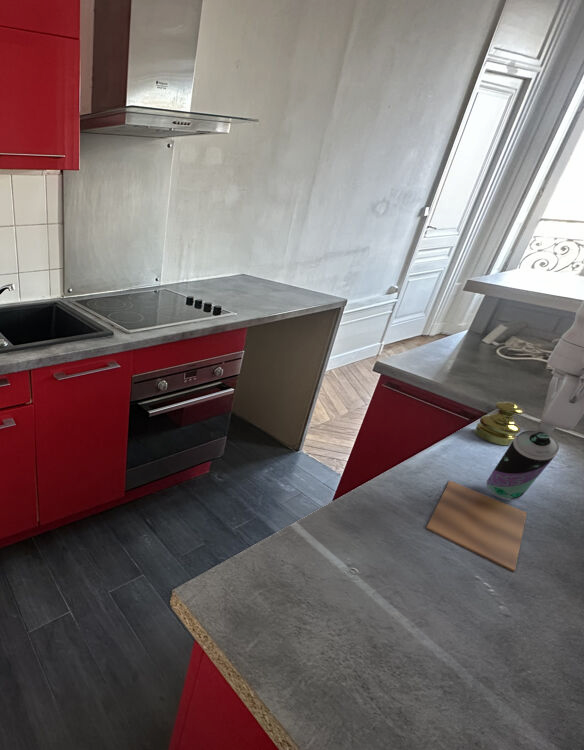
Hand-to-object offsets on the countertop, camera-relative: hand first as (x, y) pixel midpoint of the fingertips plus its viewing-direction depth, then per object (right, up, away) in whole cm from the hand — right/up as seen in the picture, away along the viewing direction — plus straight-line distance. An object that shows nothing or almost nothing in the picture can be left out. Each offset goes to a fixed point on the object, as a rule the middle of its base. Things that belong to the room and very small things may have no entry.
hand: (543, 430), depth 74 cm
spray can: (+3, -13, +10) cm, 17 cm away
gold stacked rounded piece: (+20, -6, +29) cm, 36 cm away
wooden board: (-9, -18, +3) cm, 20 cm away
